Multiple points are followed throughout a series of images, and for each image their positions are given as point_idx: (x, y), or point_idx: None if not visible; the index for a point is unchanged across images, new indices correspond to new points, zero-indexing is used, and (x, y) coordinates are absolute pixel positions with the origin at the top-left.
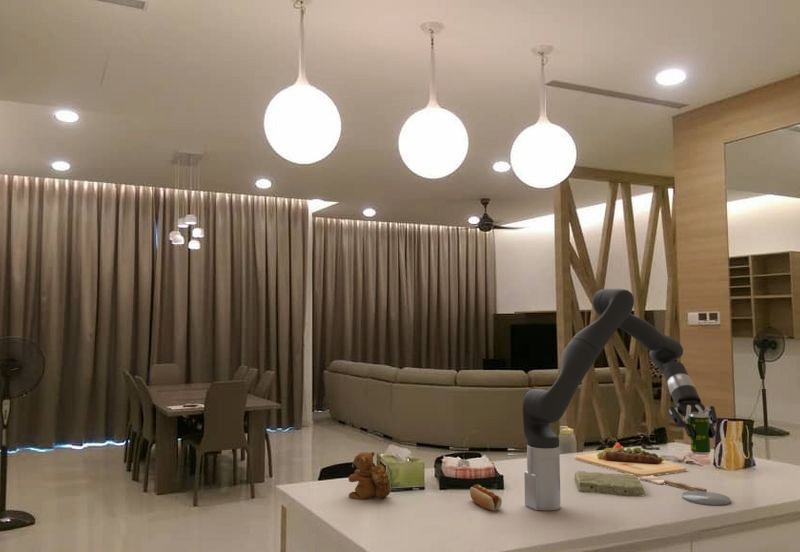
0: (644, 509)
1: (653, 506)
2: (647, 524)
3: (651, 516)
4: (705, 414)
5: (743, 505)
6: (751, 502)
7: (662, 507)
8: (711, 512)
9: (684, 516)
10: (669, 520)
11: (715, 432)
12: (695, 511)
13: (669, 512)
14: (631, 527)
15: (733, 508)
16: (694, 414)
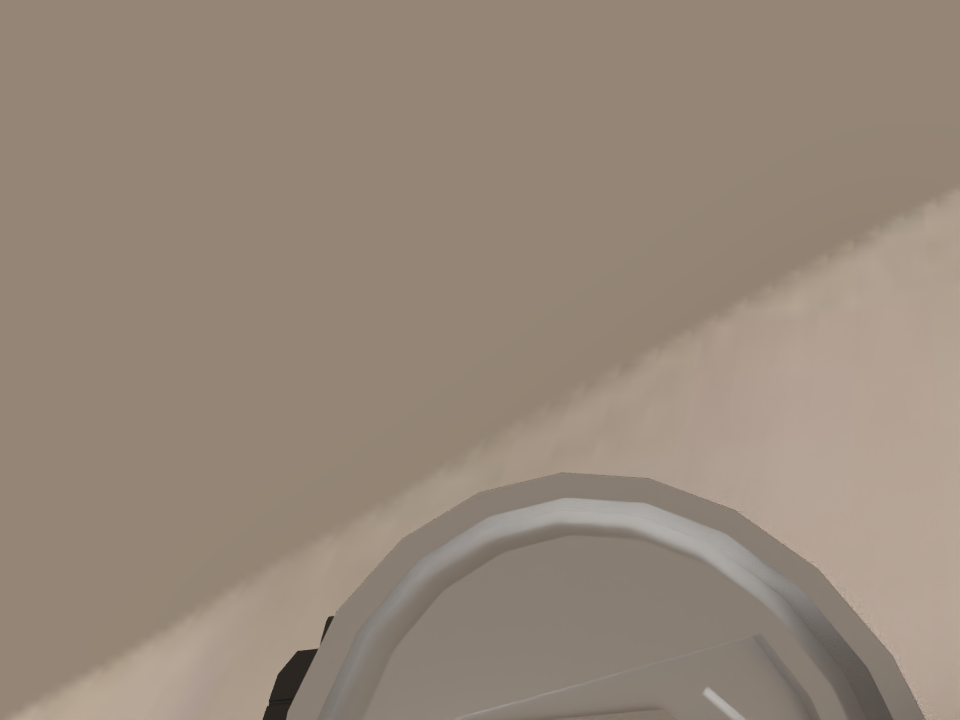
0: (913, 464)
1: (862, 531)
2: (892, 243)
3: (875, 349)
4: (465, 503)
5: (304, 612)
6: (208, 698)
7: (810, 515)
8: (555, 445)
9: (712, 365)
10: (792, 301)
11: (289, 665)
12: (636, 455)
13: (779, 422)
14: (957, 204)
15: (399, 537)
16: (802, 591)
